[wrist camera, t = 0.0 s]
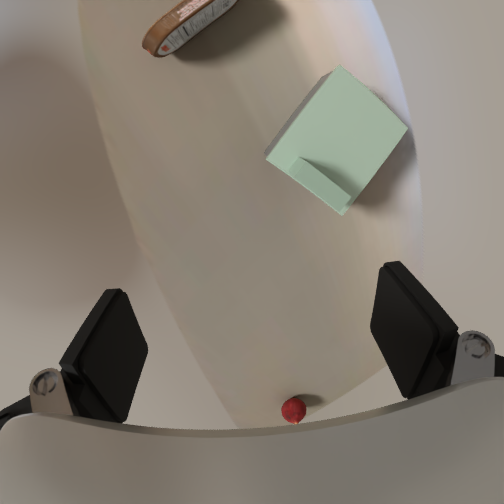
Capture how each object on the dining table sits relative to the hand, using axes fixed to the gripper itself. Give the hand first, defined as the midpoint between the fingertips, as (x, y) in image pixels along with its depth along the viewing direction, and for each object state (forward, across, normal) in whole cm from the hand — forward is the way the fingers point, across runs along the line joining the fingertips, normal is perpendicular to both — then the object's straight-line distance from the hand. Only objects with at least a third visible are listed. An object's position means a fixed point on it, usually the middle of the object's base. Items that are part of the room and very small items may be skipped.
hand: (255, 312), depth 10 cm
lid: (+25, -11, -4) cm, 28 cm away
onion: (+31, -5, +52) cm, 61 cm away
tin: (+32, +4, -23) cm, 39 cm away
